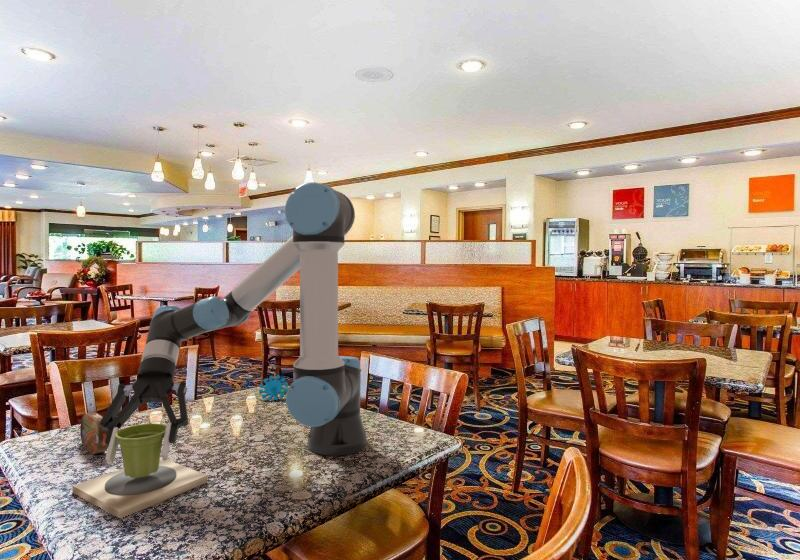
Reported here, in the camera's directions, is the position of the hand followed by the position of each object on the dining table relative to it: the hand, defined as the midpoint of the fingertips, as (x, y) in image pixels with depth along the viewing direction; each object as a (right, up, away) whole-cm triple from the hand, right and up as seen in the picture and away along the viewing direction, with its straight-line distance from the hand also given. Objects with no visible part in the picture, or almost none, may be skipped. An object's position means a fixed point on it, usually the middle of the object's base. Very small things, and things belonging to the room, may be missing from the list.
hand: (137, 459), depth 95 cm
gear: (+9, -6, +70) cm, 71 cm away
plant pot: (-1, -4, +3) cm, 5 cm away
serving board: (-1, -7, +3) cm, 8 cm away
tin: (-23, -6, +23) cm, 34 cm away
